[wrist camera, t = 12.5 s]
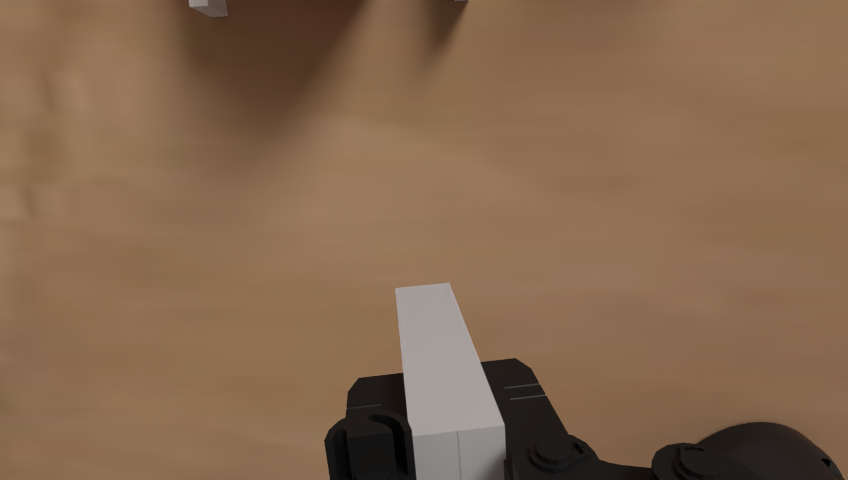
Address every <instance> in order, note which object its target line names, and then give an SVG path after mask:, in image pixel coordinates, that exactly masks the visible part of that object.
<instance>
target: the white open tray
mask: <svg viewBox="0 0 848 480" xmlns="http://www.w3.org/2000/svg"><path fill="white" fill-rule="evenodd" d="M453 1H467V0H453ZM189 6H190V7H191V8H193V9H195V10H197V11H199V12H201V13H203V14H206V15H208V16H210V17H226V16H228V11H227V5H226V0H189Z"/></svg>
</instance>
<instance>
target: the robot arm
mask: <svg viewBox="0 0 848 480" xmlns="http://www.w3.org/2000/svg"><path fill="white" fill-rule="evenodd" d="M395 291H396V302H397V312H398V322H399V333H400V343H401V354H402V364H403V373H398V374H389V375H380V376H372V377H363V378H358V380H357V381H356V382H355V383H354V385H353V386H352V387H351V389H350V390H349V391H348V398H347V410H346V418H344V419H342V420H340V421H338V422H337V423H336V424H335V425H334V426H333V427H332V428H331V429H330V430H329V431H328V434H327V436H326V438H325V440H324V442H325V449H326V455H327V462H328V468H329V475H330V480H845V479H844V478H843V477H842V475H841V473H840V471H839V469H838V468H837V466H836V465H835V463H834V462H833V461H832V460H831V459H830V457H829V456H828V455H827V454H826V453H825V452H824V451H823V450H821V449H820V448H819V447H818V446H816V445H815V444H814V443H813V442H811V441H810V440H809V439H808V438H806V437H805V436H804V435H802V434H801V433H799V432H798V431H796V430H794V429H792V428H790V427H787V426H784V425H780V424H776V423H767V422H755V423H746V424H741V425H737V426H733V427H730V428H727V429H724V430H722V431H719V432H717V433H715V434H713V435H711V436H710V437H708V438H706V439H704V440H703V441H701V442H700V443H699V444H690V443H678V444H672V445H667V446H665V447H663V448H662V449H660V450H658V451H656V453H655V455H654V457H653V460H652V468H644V467H635V466H625V465H618V464H613V463H608V462H605V461H602V460H599V458H598V457H597V455H596V453H595V452H594V451H593V450H592V449H591V448H590V447H589V446H588V445H587V443H586V442H584V441H582V440H580V439H578V438H576V437H574V436H573V435H569V434H568V433H567V431H566V429H565V428H564V426H563V424H562V422H561V421H560V419H559V417H558V415H557V413H556V412H555V410H554V408H553V406H552V405H551V403H550V401H549V399H548V398H547V396H545V392H544V391H543V389H542V387H541V385H539V382H538V380H537V378H536V377H535V375H534V373H533V371H532V369H531V368H529V367H528V366H526V365H525V364H523V363H522V362H520V361H519V360H517V359H516V358H513V359H504V360H496V361H487V362H480V361H479V358H478V355H477V353H476V350H475V348H474V345H473V343H472V340H471V337H470V335H469V332H468V330H467V327H466V325H465V322H464V320H463V317H462V314H461V312H460V309H459V307H458V304H457V302H456V299H455V296H454V294H453V291H452V289H451V286H450V284H449V283H441V284H432V285H422V286H413V287H403V288H395Z"/></svg>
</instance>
